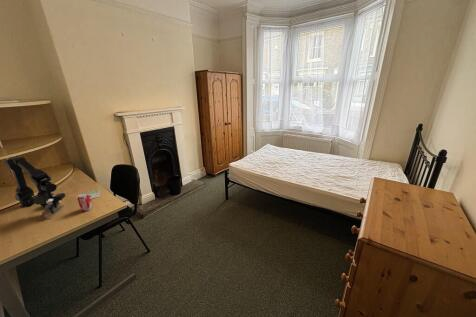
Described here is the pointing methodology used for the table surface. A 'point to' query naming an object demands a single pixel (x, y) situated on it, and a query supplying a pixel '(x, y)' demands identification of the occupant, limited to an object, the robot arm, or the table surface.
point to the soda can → (84, 202)
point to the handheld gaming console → (93, 194)
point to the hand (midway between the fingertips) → (51, 208)
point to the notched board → (48, 214)
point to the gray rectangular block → (51, 207)
